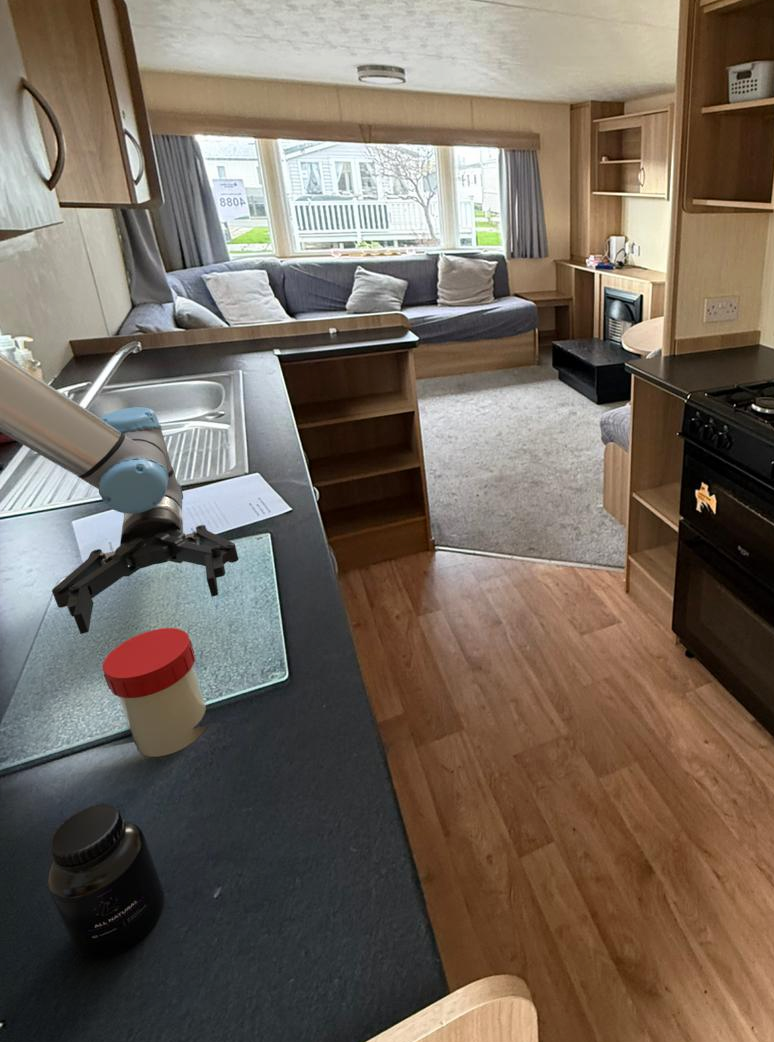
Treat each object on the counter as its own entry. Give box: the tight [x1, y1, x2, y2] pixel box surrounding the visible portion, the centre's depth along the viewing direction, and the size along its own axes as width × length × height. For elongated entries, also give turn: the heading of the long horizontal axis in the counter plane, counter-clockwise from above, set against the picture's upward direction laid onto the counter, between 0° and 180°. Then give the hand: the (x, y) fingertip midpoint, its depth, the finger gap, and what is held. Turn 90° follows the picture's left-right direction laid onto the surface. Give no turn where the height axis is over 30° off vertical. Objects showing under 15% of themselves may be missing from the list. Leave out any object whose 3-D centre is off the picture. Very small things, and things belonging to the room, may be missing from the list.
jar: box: [117, 665, 208, 758], centre depth 77 cm, size 8×8×12 cm
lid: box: [102, 627, 196, 698], centre depth 75 cm, size 8×8×3 cm
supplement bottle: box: [46, 803, 165, 960], centre depth 57 cm, size 7×7×12 cm
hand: (149, 604), depth 80 cm, fingers open, 13 cm apart
